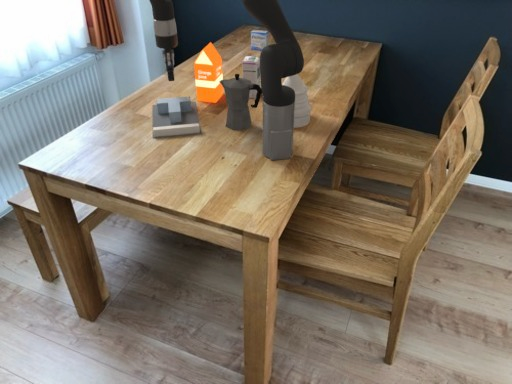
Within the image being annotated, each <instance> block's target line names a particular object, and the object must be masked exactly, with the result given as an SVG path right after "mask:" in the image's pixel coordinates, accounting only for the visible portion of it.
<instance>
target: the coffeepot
mask: <svg viewBox="0 0 512 384" xmlns="http://www.w3.org/2000/svg"><path fill="white" fill-rule="evenodd" d="M219 82H220V83H221V84H222V86H223V91H224V94H225V99H226V104H227V111H226V112H227V114H226V121H225V122H226V123H225V127H226V128H228V129H230V130H233V131H243V130H247V129H249V128H250V127H252V117H251V113H250V107H251V108H252V109H257V108H258V105H259V103H260V100H261V97H262V96H263V94H262V90H261V85H260V86H259V85H258V84H254V83H251V81H250V80H247V79H245V78H243V77H240V73H234V77H232V78H228V79H224V78H223V80H221V81H219ZM250 90H257V94H256V98H254V103H253V104H250V107H249V100H250V98H249V93H250Z"/></svg>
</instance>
